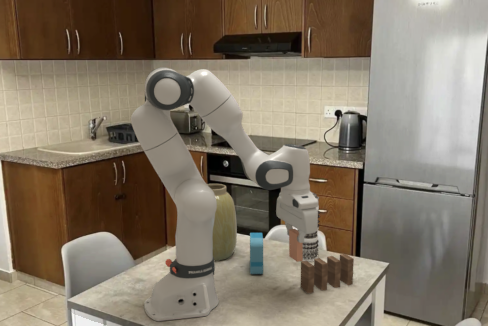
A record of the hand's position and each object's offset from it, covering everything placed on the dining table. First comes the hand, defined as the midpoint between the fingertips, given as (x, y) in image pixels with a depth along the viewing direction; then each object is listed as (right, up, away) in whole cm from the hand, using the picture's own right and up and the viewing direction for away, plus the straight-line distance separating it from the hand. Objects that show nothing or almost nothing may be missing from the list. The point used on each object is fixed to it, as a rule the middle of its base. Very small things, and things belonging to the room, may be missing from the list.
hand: (295, 238), depth 155 cm
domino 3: (+9, -17, +7) cm, 20 cm away
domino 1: (0, -7, +1) cm, 7 cm away
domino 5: (+18, -16, +11) cm, 27 cm away
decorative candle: (+8, -12, +32) cm, 35 cm away
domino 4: (+13, -17, +9) cm, 23 cm away
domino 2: (+4, -17, +5) cm, 19 cm away
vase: (-28, -12, +36) cm, 47 cm away
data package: (-12, -14, +22) cm, 29 cm away
